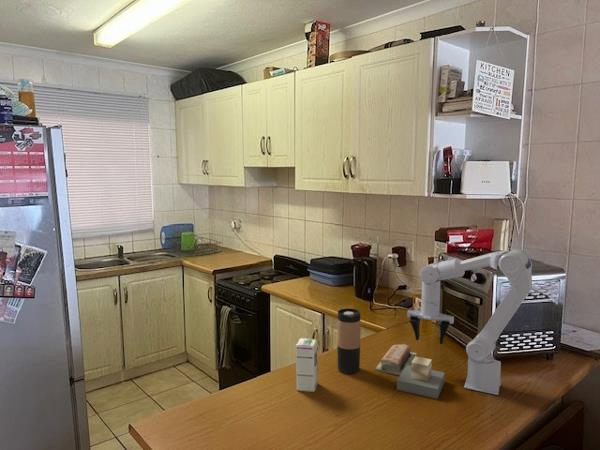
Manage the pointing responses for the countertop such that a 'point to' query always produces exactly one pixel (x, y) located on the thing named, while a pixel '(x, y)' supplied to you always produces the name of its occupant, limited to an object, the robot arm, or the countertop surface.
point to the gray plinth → (421, 383)
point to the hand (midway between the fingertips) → (429, 341)
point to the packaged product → (396, 359)
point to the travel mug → (348, 341)
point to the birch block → (421, 368)
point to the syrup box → (306, 365)
